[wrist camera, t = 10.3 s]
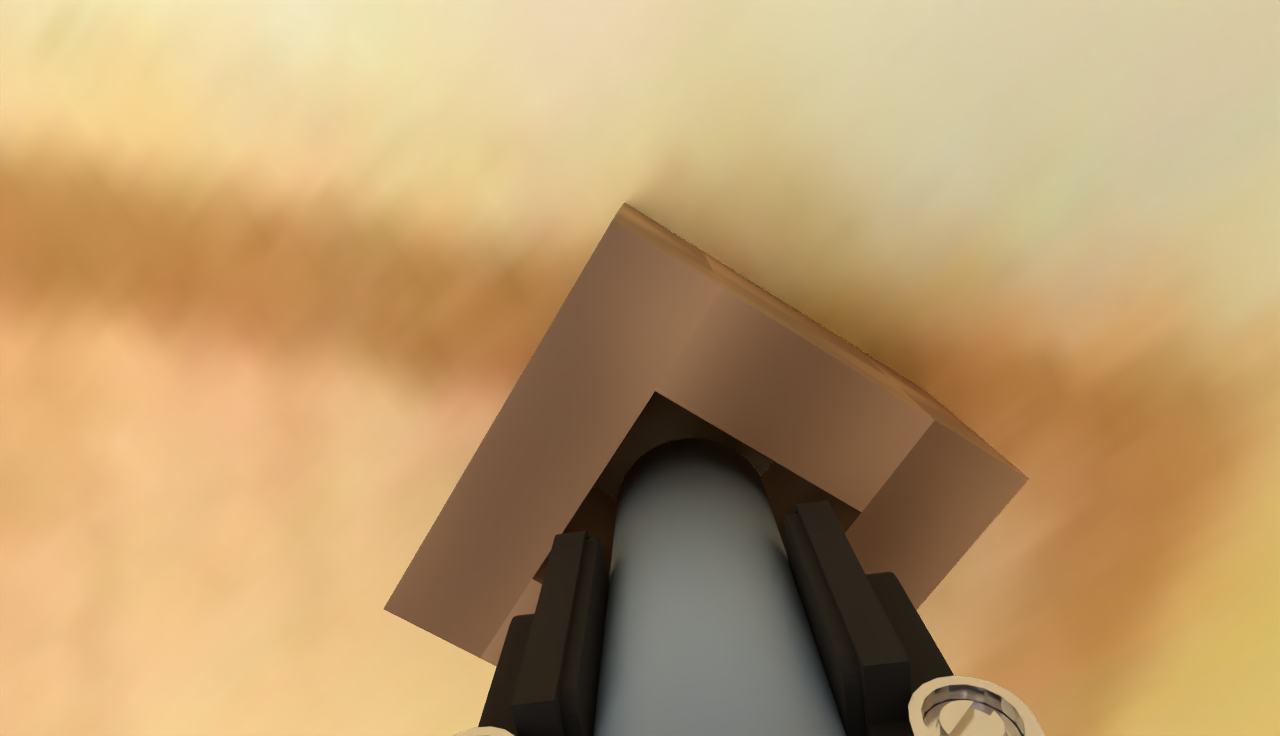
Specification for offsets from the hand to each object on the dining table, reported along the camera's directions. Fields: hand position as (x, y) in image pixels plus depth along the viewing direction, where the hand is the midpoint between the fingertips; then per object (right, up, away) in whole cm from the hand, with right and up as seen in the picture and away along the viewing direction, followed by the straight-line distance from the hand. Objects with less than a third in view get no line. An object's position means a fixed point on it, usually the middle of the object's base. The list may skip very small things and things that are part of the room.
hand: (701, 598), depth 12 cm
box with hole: (0, +2, +6) cm, 7 cm away
